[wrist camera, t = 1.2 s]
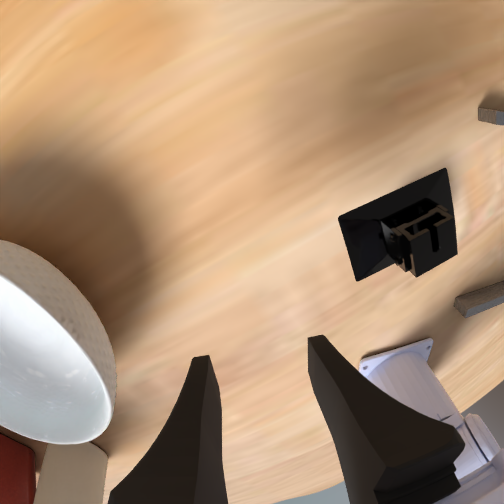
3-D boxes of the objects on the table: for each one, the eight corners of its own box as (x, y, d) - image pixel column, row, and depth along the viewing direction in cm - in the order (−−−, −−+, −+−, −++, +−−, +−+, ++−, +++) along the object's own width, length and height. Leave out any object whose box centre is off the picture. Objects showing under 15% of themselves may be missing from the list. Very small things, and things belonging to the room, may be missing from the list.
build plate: (453, 148, 20) (495, 163, 16) (463, 229, 23) (499, 254, 19) (310, 213, 21) (336, 243, 16) (340, 295, 24) (364, 334, 20)
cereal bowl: (159, 377, 25) (153, 448, 19) (19, 386, 24) (-2, 438, 18) (78, 181, 17) (21, 224, 11) (-65, 240, 17) (-113, 282, 10)
